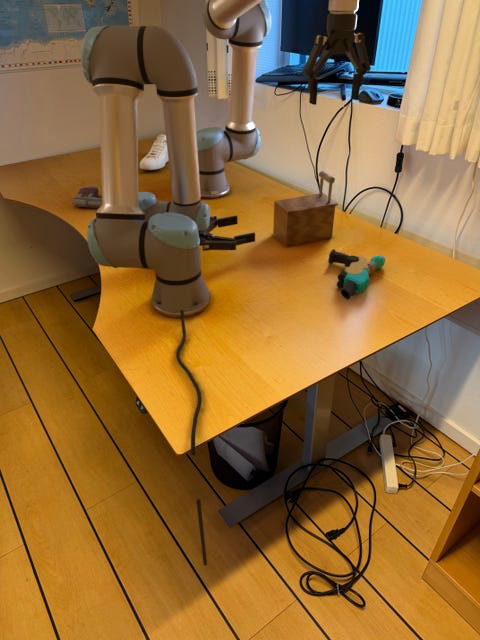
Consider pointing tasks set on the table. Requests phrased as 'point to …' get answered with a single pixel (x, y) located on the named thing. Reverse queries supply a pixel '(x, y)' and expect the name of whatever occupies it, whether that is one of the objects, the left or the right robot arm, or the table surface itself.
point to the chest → (303, 225)
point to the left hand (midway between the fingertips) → (245, 228)
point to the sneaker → (156, 155)
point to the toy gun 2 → (354, 272)
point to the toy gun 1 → (88, 198)
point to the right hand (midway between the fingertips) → (333, 101)
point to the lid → (309, 199)
